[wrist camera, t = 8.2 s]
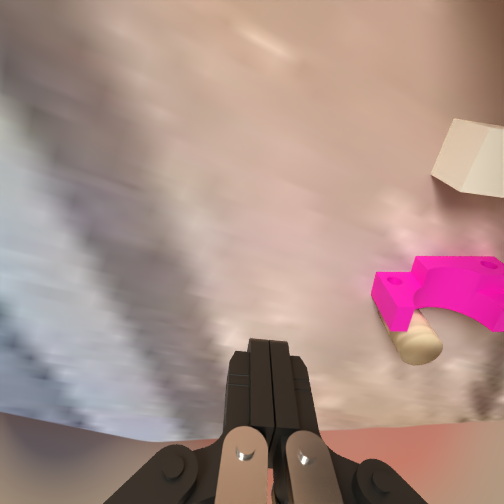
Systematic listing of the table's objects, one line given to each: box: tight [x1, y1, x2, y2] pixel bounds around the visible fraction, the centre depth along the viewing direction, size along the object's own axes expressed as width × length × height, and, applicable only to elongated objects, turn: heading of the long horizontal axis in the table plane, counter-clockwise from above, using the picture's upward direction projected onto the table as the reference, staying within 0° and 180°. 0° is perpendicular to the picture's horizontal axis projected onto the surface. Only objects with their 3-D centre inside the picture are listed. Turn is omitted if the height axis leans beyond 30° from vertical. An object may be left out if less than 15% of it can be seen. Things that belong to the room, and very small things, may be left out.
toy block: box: [371, 256, 504, 332], centre depth 41 cm, size 15×6×8 cm, turn 89°
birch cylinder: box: [378, 309, 443, 365], centre depth 43 cm, size 5×5×8 cm
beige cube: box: [431, 118, 504, 198], centre depth 33 cm, size 6×6×6 cm
